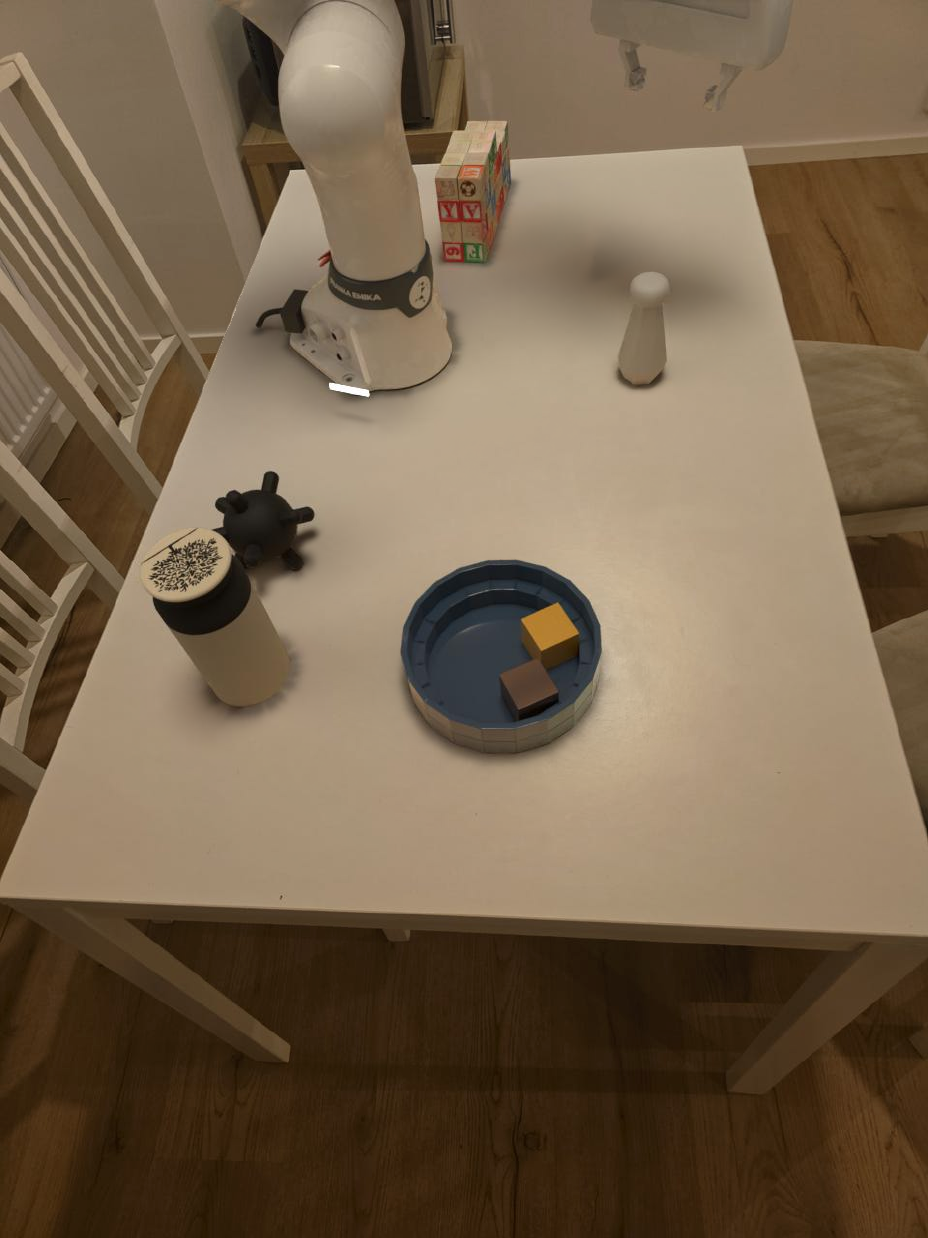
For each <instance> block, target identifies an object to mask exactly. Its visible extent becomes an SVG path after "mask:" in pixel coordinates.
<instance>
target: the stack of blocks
mask: <svg viewBox="0 0 928 1238" xmlns="http://www.w3.org/2000/svg"><path fill="white" fill-rule="evenodd" d="M508 122H509V121H508V120H467V121H466V124H465V128H464V130H456V129H455V130H453V131H452V134H451V137H450V139H449V142H448V145H447V148H446V150H445V153H444V154H443V157H442V159H441V161H440V164H439V166H438V168H437V171H436V173H435V176H434V185H435V195H436V203H437V204H436V205H437V214H438V221H439V226H440V234H441V236H440V237H441V247H442V256H443V261H444V262H456V263H457V262H458V263H479V264H480V263H486V261H487V258H488V255H489V252H490V250H491V249H492V244H493V241H494V238H495V235H496V232H497V230H498V224H499V221H500V217H501V213H502V210H503V208H504V207H503V206H504V204H505V203H506V200H507V198H508V194H509V190H510V187H511V183H512V176H511V149H510V142H509V123H508Z"/></svg>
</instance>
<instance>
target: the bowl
mask: <svg viewBox="0 0 928 1238" xmlns="http://www.w3.org/2000/svg"><path fill="white" fill-rule="evenodd" d="M556 603H559V605H560V606H561V607H562V609H563V610H564V612H565V613H566V615H567V616H568V618H569V619H570V621H571V622H572V623H573V625H574V626H575V628H576V629H577V631H578V632H579V646H578V656H576V657H574V658H572V659H570V660H568V661H565V662H563V663H561V664H559V665H557V666H555V667H553V668H550V669H548V670H546V671H547V673H548V674H549V676H550V678H551V679H552V681H553V683H554V684H555V686H556V688H557V689H558V691H559V702H558V703H556V704H555V705H553V706H551V707H550V708H548V709H547V710H545V711H544V712H542V713H541V714H539V715H537V716H534V717H530V718H527V719H523V720H520V721H516V722H515V720H514V719H513V717H512V715H511V713H510V711H509V709H508V708H507V706H506V704H505V702H504V700H503V699H502V697H501V690H500V680H499V675H500V674H502V673H504V672H506V671H509V670H511V669H513V668H516V667H518V666H520V665H522V664H525V663H527V662H529V661H532V660H533V659H532V657H531V655H530V654H529V652H528V651H527V649H526V647H525V646H524V644H523V643H522V632H521V619H522V618H525V617H527V616H529V615H531V614H534V613H536V612H538V611H540V610H542V609H545V608H547V607H549V606H551V605H553V604H556ZM400 643H401V644H400V656H401V660H402V665H403V668H404V671H405V676H406V678H407V683H408V687H409V690H410V693H411V697H412V700H413V703H414V705H415V707H416V708H417V710H418V711H419V712H420V714H421V715H422V717H423V718H424V720H425V721H426V722H427V724H428V725H429V727H431V728H432V729H433V730H435V731H436V732H438V734H440V735H442V736H443V737H445V738H446V739H448V740H449V741H451V742H452V743H453V744H455V745H458V746H462V747H465V748H468V749H471V750H474V751H478V752H481V753H484V754H485V753H486V754H519V753H522V752H526V751H528V750H529V751H530V750H532V749H536V748H540V747H543V746H545V745H548V744H550V743H551V742H553V741H554V740H555V739H557V738H559V737H560V736H561V735H563V734H565V733H566V732H568V731H569V730H571V729H572V728H573V727H574V726H575V725H576V724H577V723H578V721H579V720H580V719H581V718H582V716H583V715H584V714H585V712H586V711H587V710H588V708H589V707H590V706H591V704H592V702H593V699H594V696H595V692H596V689H597V686H598V683H599V680H600V671H601V664H602V654H603V647H602V646H603V645H602V628H601V623H600V621H599V619H598V616H597V614H596V612H595V610H594V608H593V605H592V603H591V601H590V599H589V598H588V597H587V596H586V595H585V594H584V593H583V592H582V591H581V590H580V589H579V588H578V587H577V586H576V584H574V582H573V581H572V580H570V579H569V578H567V577H565V576H564V575H561V574H560V573H558V572H557V571H555V570H553V569H551V568H549V567H548V566H545V565H540V564H537V563H532V562H528V561H525V560H521V559H486V560H483V561H482V560H481V561H479V562H475V563H472V564H467V565H464V566H461V567H457V568H456V569H455V570H453V571H451V572H449V573H448V574H446V575H444V576H442V577H441V578H439V579H437V580H436V581H434V582H433V583H432V584H431V585H430V586H429V587H428V588H427V589H426V590H425V591H424V592H423V594H421V595H420V596H419V597H418V598H417V599H416V601H415V602H414V603H413V605H412V607H411V610H410V612H409V613H408V615H407V617H406V619H405V622H404V624H403V626H402V633H401V642H400Z"/></svg>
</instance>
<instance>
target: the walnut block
mask: <svg viewBox="0 0 928 1238" xmlns="http://www.w3.org/2000/svg"><path fill="white" fill-rule="evenodd" d="M499 680H500V690H501V697H502V699H503V700H504V702H505V704H506V706H507V708H508V709H509V711H510V713H511V715H512V717H513V719H514V720H515V722H516V721H520V720H523V719H527V718H530V717H534V716H537V715H539V714H541V713H542V712H544V711H545V710H547V709H548V708H550V707H551V706H553V705H555V704H556V703H558V702H559V691H558V689H557V688H556V686H555V684H554V683H553V681H552V679H551V678H550V676H549V674H548V673H547V671H546V669H545V668H544V666H543V664H542V663H541V661H540V659H539V658H536V659H534V660H532V661H529V662H527V663H525V664H522V665H520V666H518V667H516V668H513V669H511V670H509V671H506V672H504V673H502V674H500V675H499Z"/></svg>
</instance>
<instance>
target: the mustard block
mask: <svg viewBox="0 0 928 1238" xmlns="http://www.w3.org/2000/svg"><path fill="white" fill-rule="evenodd" d="M521 632H522V643H523V644H524V646H525V647H526V649H527V651H528V652H529V654H530V655H531V657H532V659H533V660H534V659H536V658H539V659H540V661H541V663H542V664H543V666H544V668H545V669H546V670H548V669H550V668H553V667H555V666H557V665H559V664H561V663H563V662H565V661H568V660H570V659H572V658H574V657H576V656H578V646H579V632H578V631H577V629H576V628H575V626H574V625H573V623H572V622H571V621H570V619H569V618H568V616H567V615H566V613H565V612H564V610H563V609H562V607H561V606H560V605H559V603H556V604H553V605H551V606H549V607H547V608H545V609H542V610H540V611H538V612H536V613H534V614H531V615H529V616H527V617H525V618H522V619H521Z"/></svg>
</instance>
